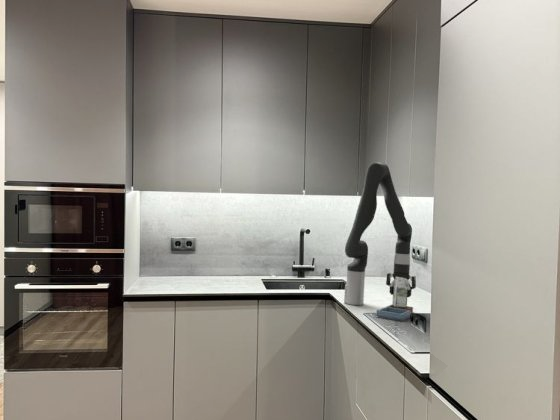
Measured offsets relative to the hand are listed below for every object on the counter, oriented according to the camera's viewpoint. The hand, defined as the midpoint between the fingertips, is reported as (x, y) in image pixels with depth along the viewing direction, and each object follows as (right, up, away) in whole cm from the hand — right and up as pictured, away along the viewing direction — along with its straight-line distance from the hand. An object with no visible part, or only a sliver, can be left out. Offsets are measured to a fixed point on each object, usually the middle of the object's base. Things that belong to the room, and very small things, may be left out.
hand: (400, 295), depth 226 cm
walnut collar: (0, -8, 0) cm, 8 cm away
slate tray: (-6, -8, -12) cm, 16 cm away
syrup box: (0, -5, 0) cm, 5 cm away
